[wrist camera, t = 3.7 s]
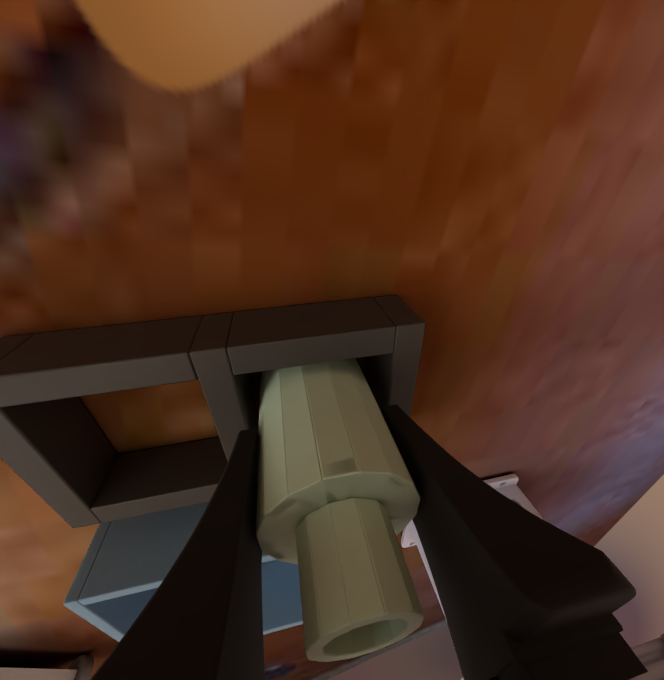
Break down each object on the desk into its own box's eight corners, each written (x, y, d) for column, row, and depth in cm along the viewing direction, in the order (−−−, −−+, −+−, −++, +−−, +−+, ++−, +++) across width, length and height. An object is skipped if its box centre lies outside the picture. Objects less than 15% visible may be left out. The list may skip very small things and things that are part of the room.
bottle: (360, 330, 14) (493, 566, 6) (357, 406, 16) (446, 639, 8) (252, 344, 13) (231, 638, 5) (268, 421, 15) (271, 693, 8)
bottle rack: (397, 293, 13) (427, 322, 11) (384, 422, 17) (403, 462, 15) (-2, 336, 11) (-77, 385, 8) (102, 472, 15) (72, 529, 13)
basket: (318, 462, 18) (332, 540, 14) (325, 544, 24) (336, 614, 20) (108, 503, 16) (61, 605, 13) (171, 581, 22) (153, 665, 19)
